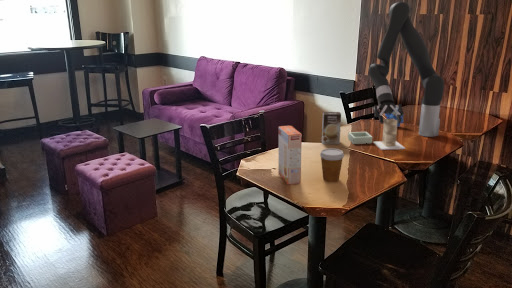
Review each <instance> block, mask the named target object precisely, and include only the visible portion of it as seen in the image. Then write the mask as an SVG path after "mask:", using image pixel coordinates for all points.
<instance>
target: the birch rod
mask: <svg viewBox="0 0 512 288" xmlns="http://www.w3.org/2000/svg"><path fill="white" fill-rule="evenodd" d="M383 120H384V123H383V127H382V129H383V130H382V139H381V140H382V144H384V145H385V146H395V145H396V141H397V133H398V132H397V131H398V126H397V122H398V121H397V120H395V119H387V118H383Z"/></svg>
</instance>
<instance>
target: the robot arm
mask: <svg viewBox="0 0 512 288" xmlns="http://www.w3.org/2000/svg"><path fill="white" fill-rule="evenodd" d="M410 11H411V9H410V6H409V4H408V3H406V2H405V1H398V2H394V3H393V4H391V6H390V7H389V10H388V15H389V17H390V20H389V25H388V27H387V30H386V33H385V34H384V37H383V39H382V40H381V43H380V46H379V48H378V51H377V55H376V58H377V59H378V61H379V60H380V61H381V63H380V64H379V63H372V64H371V65H369V67H368V76H369V78H370V79H371V81H372V83H373V84H374V88H375V93H376V99H377V102H378V105H377V104H374V106H373V108H372V109H373V114H374V115H373V116H374V117H375V118H378V121H379V123H380V124H381V125H384V116H383V115H385V114H391V113H392V114H393V115H395V116H396V117H397V121H398V124H400V125H401V123H400V122H401V116H402V115H403V116H404V114H405V113H404V109H403V107H402V104H401V103H399V104H395V101H394V95H393V92H392V90H391V88H390V84H389V80H388V78H387V76H388V75H389V74H390V73H389V72H390V64H391V63H390V62H391V57H392V54H393V53H394V49H395V47H396V42H397V40H398V38H399V35H400V38H401V40H402V43H403V44H404V47H405V50H406V51H407V53H408V56H409V58H410V60H411V61H412V64H413V65H414V66H415V68H416V69H417V70H416V71H418V74H419V77H420V80H421V84H422V86H423V88H424V92H423V97H422V100H421V106H420V107H421V109H420V116H419V126H418V135H420V136H422V137H429V138H430V137H431V138H433V137H437V136H439V133H440V132H439V131H440V124H441V123H440V122H441V119H440V109H441V102H442V99H443V96H444V89H445V81H444V79H443V77H442V76H440V75H438V73H437V72H436V71H435V69H434V66H433V65H432V62H431V57H430V54H429V53H430V52H429V50H428V48H427V45H426V43H425V41H424V39H423V37H422V36H421V34H420V32H419V31H418V30H417V28H415V26H414V24H413V23H412V21H411V18H410V16H409V14H410ZM395 108H397V110H398V111H397V110H396V109H395ZM379 110H380V111H381V112H380V113H379ZM393 111H394V112H393Z"/></svg>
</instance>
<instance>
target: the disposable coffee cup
mask: <svg viewBox="0 0 512 288" xmlns="http://www.w3.org/2000/svg"><path fill="white" fill-rule="evenodd" d="M320 151H321V152H319V157H320V160H321V170H322V171H321V172H322V178H323V179H322V180H323V181H325V182H327V183H338V182H339V180H340V177H341V175H340V174H341V170H342V165H343V159H344V156H345V154H344V152H343V150H341V149H339V148H333V147H332V148H331V147H330V148H323V149H321V150H320Z"/></svg>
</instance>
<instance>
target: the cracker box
mask: <svg viewBox="0 0 512 288" xmlns="http://www.w3.org/2000/svg"><path fill="white" fill-rule="evenodd" d="M302 136H303V135H302V133H301V132H300V131H299V130H297V129H296V128H295V127H294V126H293V125H281V126H278V170H277V171H278V175H280V177H281V178H282V180H284V181H285V183H286V185H298V184H301V183H302V182H301V181H302V140H303V139H302V138H303V137H302Z"/></svg>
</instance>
